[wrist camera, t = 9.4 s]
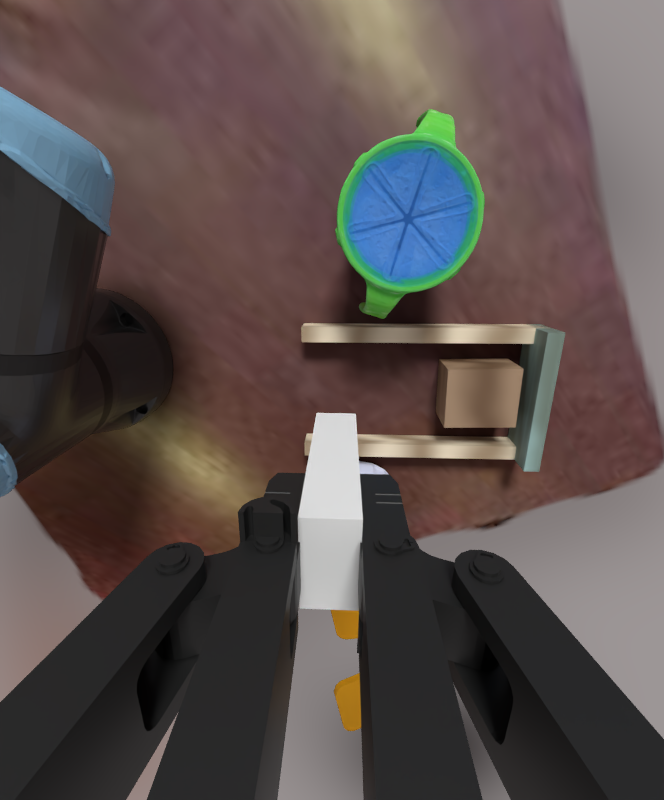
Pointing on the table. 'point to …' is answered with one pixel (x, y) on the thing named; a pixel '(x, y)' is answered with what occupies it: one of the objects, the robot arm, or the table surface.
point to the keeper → (478, 393)
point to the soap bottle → (348, 629)
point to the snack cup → (410, 213)
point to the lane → (536, 342)
